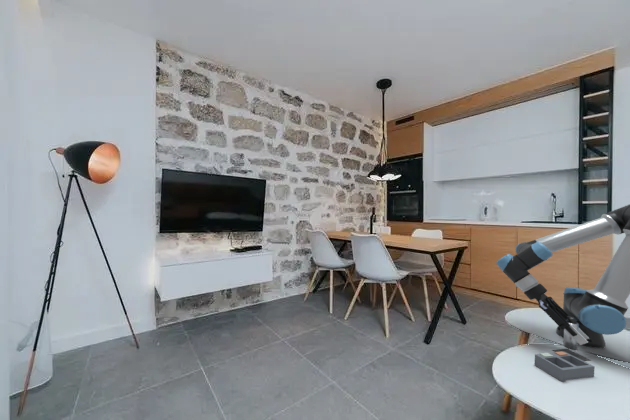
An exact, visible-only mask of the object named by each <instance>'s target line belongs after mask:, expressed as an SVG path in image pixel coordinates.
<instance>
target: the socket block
mask: <svg viewBox="0 0 630 420" xmlns="http://www.w3.org/2000/svg"><path fill="white" fill-rule="evenodd" d="M533 365H534V366H536V367H537V368H538V369H541V370H542V371H544V372H545V373H546V374H549V375H550V376H552V377H554V378H555V379H556V380H558V381H560V382H566V381H568V380H571V381H572V380H577V379H584V378H593V377H595V366H594V365H592V364H590V363H588V361H583V360H581V359H579V358H577V357H575V356H573V355H571V354H569V353H567V352H565V351H564V352H563V351H561V352H554V351H553V352H542V353H535V354H534V364H533Z"/></svg>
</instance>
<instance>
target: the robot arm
mask: <svg viewBox="0 0 630 420" xmlns="http://www.w3.org/2000/svg"><path fill="white" fill-rule="evenodd" d="M613 234H614V235H619V236H620V235H622V234H625V236H624V238H623V240H622V241H621V243H620V245H619V246H618V248H617V249H616V252H615V253H614V255H613V256H612V258H611V260H610V261H609V263H608V265H607V266H606V268H605V269H604V272H603V273H602V275H601V276H600V278H599V280H597V283H596V285H595V286H594V288H591V289H587V288H580V287H569V286H568V287H565V288H564V292H563V301H562V302H563V304H562V307H561V306H560V305H559V304H558V303H557V302H556V301H555V300H554V298H553V297H551V296H547V295H546V293H547V292H548V290H547V288H546V287H545V286H544V285H542V283H539V280H537V278H535V276H533V274H531V272H529V271H530V270H531V269H533V268H534V267H536V266H539V265H540V264H541V263H543V262H545V261H548V260H549V259H550V258H551V257H553V252H557V251H561V250H563V249H566V248H570V247H573V246H577V245H579V244H580V245H581V244H583V243H586V242H587V243H588V242H590V241H594V240H596V239H601V238H603V237H605V236H606V237H607V236H610V235H613ZM515 252H516V254H515V255H513V254H510V253H507V254H505V255H504V256H502V257H501V258H499V259H498V260H497V261H496V265H497V267H498V268H499V269H500V270H501V271H502V272H503V273H504V274H505V275H506V276H507V278H509V279H510V280H511V282H513V283H514V284H515V288H519V290H521V292H523V294H524V295H525V296H526V297H527V298H528V299H529V300H530V301H531V300H536V301H537V303H538V307H539V308H540V309H541V310H542V311H544V313H546V315H548V317H549V318H550V319H551V320H552V321H553V322H554V323H555V324H556V325H557V328H556V334H557V335H558V336H559V337H561V338H562V339H564V329H565V330H566V331H567V332H568V333H569V334H570V335H571V336H572V337H573V338H574V339H575V340H576V341H577V342H578V345H579V346H583V347H588V348H594V349H596V348H597V349H603V348H604V347H605V348H606V340H605V338H604V335H607V336H608V335H616V334H619V333H621V332H623V331H624V330H625V328H626V326H627V320H626V318H625V314H626V312H627V311H628V310H629V306H628V304H627V303H626V301H627V299H628V298H629V296H630V204H627V205H624V206H621V207H618V208H616V209H614V210H611V211H608V212H605V213H603V214H601V216H600V217H599V218H596V219H593V220H589V221H587V222H583V223H581V224H578V225H575V226H571V227H569V228H565V229H563V230H559V231H556V232H554V233H550V234H548V235H545V236H542V237H539V238H536V239H534V240H530V241H527V242H520V243H517V244H516V246H515ZM567 316H572V317H575V318H577V323H578V324H579V330H578V331H577V330H576V329H575V328H574V327H573V326H572V325H571V326H570V324H569V323H568V322H567V321H566V320H567ZM605 348H604V349H605Z"/></svg>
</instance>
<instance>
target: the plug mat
mask: <svg viewBox="0 0 630 420" xmlns="http://www.w3.org/2000/svg"><path fill="white" fill-rule="evenodd" d="M551 351H552V352H553V353H554V352H561V351H563V352H564V351H565V352H567V353H569V354H571V355H573V356H575V357H577V358H579V359H581V360H583V361H585V362H589V361H592V360H591V359H589V358H587V357H586V356H583V355H581V354H579V353H577V352H575V351H574V350H571V349H568V348H561V349H560V348H559V349H551Z"/></svg>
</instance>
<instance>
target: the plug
mask: <svg viewBox="0 0 630 420" xmlns="http://www.w3.org/2000/svg"><path fill="white" fill-rule="evenodd" d="M566 321H567V322H568V323H569V324H570V326H571V325H572V326H573V327H574V328H575V329H576V330H577V331H578V330H579V324H578V323H577V318H575V317H572V316H567V320H566ZM578 347H579V344H578V342H577V341H576V340H575V339H574V338H573V337H572V336H571V335H570V334H569V333H568V332H567V331H566V330H565V329H564V338H563V348H565V349H569V350H571V351H578Z"/></svg>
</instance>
